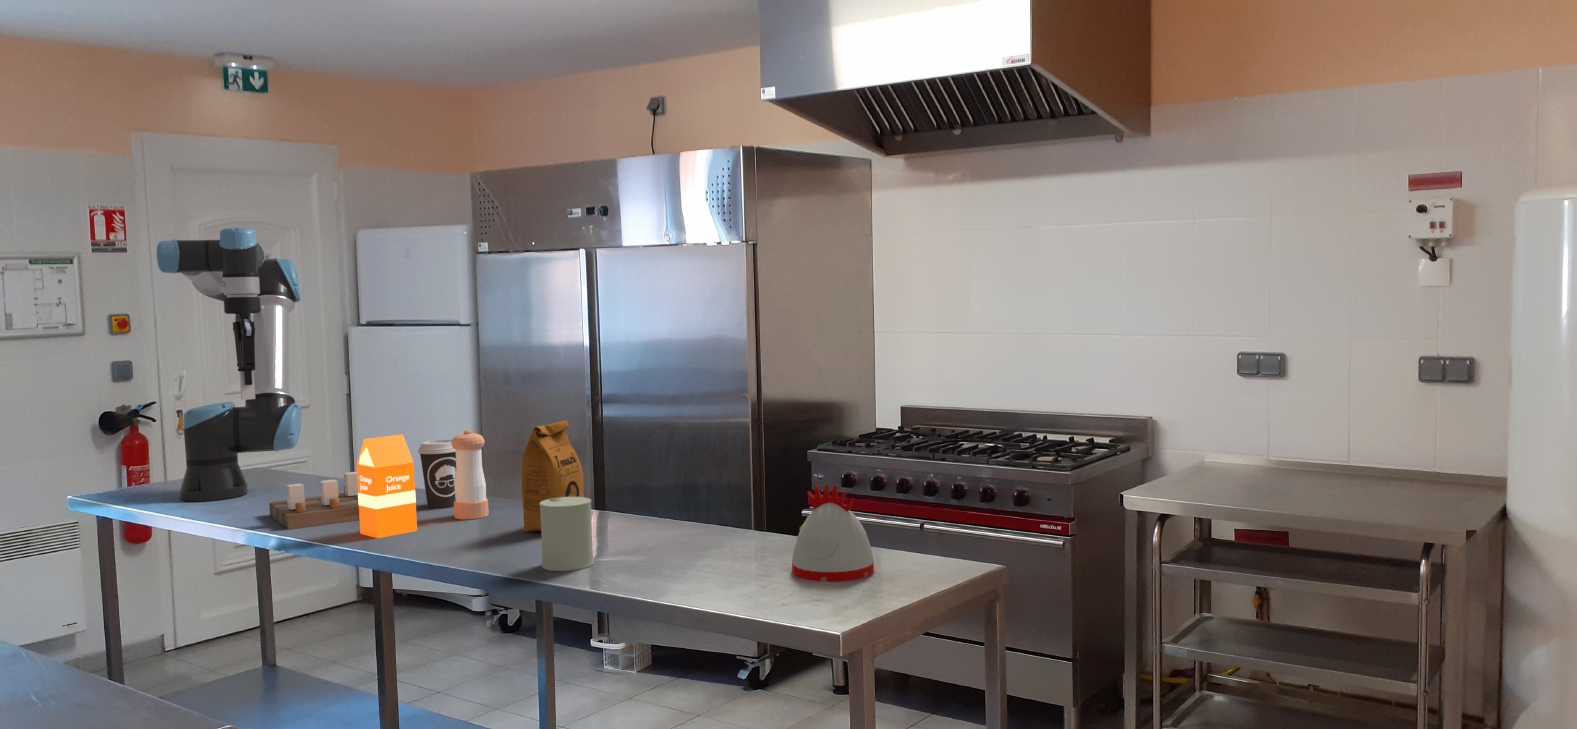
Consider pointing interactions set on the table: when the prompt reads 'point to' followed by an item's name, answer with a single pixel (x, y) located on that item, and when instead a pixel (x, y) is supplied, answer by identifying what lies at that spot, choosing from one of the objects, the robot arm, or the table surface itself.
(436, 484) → the coffee cup
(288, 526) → the switch unit
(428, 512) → the table surface
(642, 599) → the table surface
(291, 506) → the switch
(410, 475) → the orange juice
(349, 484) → the switch
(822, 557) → the kitchen timer
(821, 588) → the table surface
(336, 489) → the switch
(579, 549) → the can
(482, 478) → the pepper shaker
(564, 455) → the coffee package
